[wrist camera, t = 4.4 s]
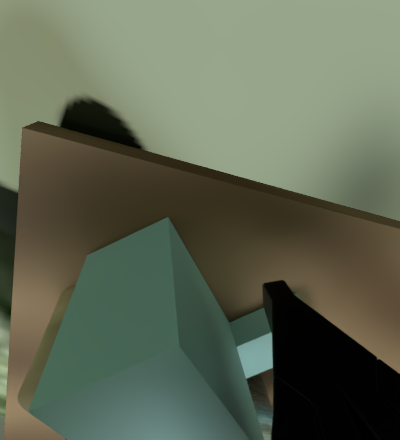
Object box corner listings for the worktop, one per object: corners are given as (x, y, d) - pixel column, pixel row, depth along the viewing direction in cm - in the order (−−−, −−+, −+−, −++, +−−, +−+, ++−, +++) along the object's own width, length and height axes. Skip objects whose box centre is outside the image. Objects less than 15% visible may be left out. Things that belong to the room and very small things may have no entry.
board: (317, 452, 21) (325, 472, 20) (12, 449, 16) (1, 476, 15) (491, 246, 14) (519, 261, 13) (38, 121, 9) (22, 127, 8)
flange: (338, 402, 16) (409, 530, 11) (190, 461, 16) (203, 603, 12) (252, 176, 9) (345, 273, 5) (9, 292, 10) (-111, 473, 5)
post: (250, 410, 15) (282, 523, 11) (196, 407, 14) (210, 527, 11) (273, 372, 14) (317, 484, 10) (215, 367, 13) (240, 486, 9)
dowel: (101, 321, 11) (79, 418, 8) (56, 316, 11) (15, 415, 8) (108, 289, 10) (88, 380, 7) (61, 282, 10) (19, 375, 7)
